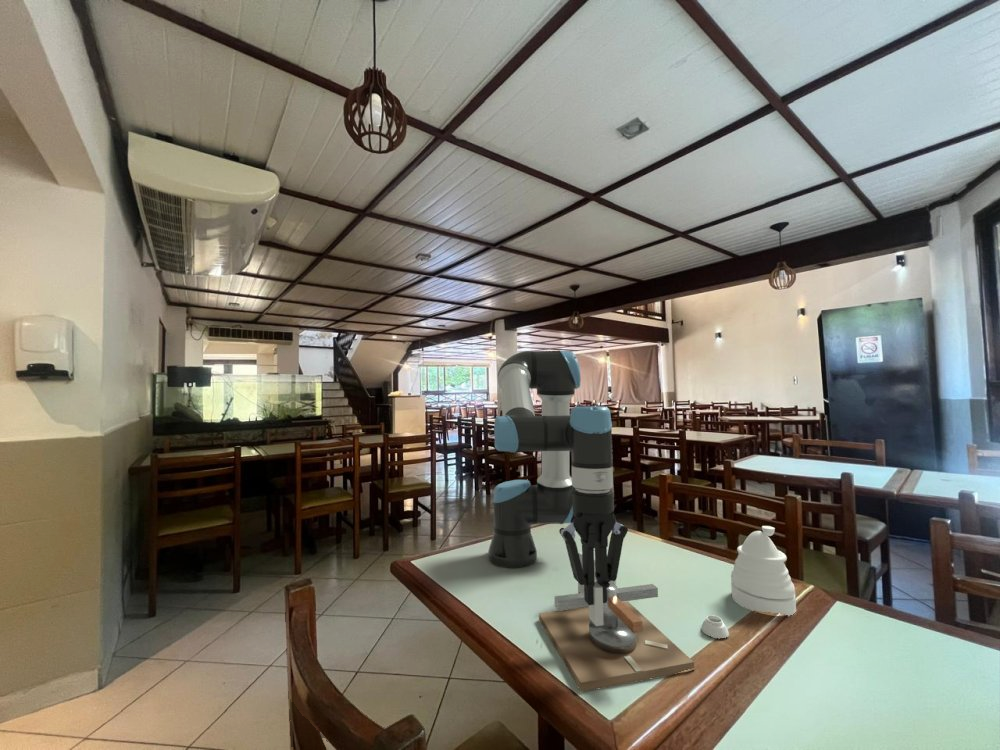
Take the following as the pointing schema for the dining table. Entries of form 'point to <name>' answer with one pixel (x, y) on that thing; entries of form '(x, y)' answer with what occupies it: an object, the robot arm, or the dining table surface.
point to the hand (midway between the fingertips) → (596, 621)
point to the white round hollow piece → (714, 627)
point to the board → (606, 667)
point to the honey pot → (762, 576)
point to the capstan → (613, 616)
